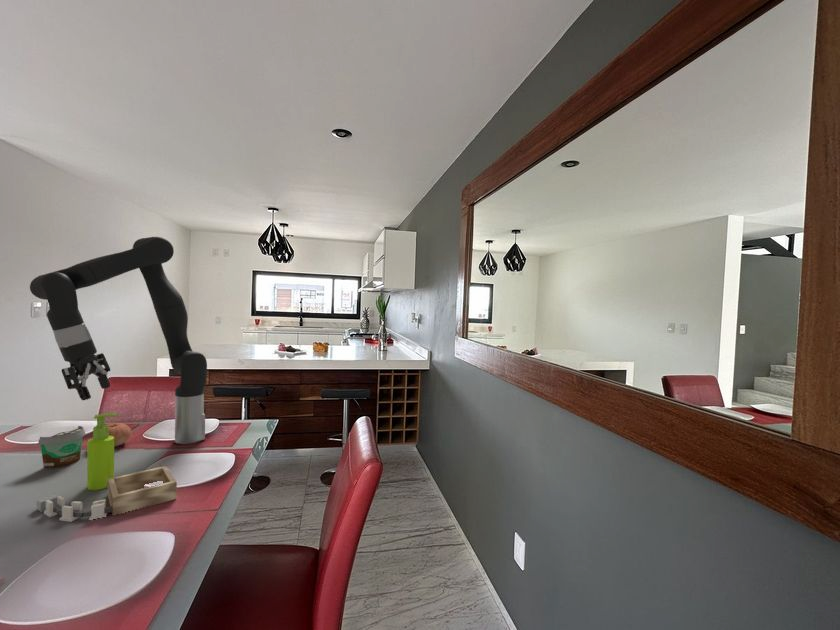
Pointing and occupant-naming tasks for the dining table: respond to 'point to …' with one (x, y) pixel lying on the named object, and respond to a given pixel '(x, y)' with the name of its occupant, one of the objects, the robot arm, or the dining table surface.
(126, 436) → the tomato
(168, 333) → the robot arm
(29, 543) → the dining table surface
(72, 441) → the food container
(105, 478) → the soap dispenser
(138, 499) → the open square wooden frame
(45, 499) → the cable route
